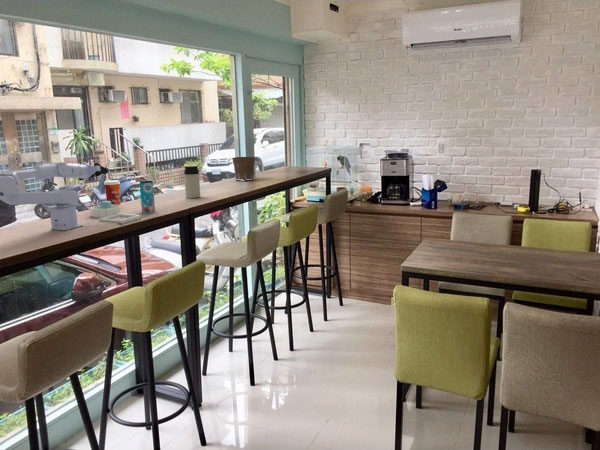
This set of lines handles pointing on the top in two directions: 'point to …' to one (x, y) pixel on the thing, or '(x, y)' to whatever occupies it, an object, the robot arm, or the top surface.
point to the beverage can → (147, 196)
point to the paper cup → (112, 191)
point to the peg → (105, 204)
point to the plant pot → (244, 167)
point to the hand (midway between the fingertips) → (100, 172)
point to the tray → (123, 221)
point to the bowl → (105, 211)
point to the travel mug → (192, 181)
